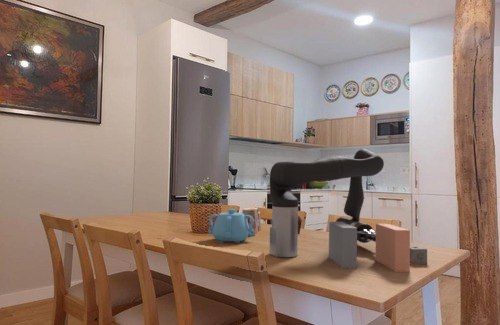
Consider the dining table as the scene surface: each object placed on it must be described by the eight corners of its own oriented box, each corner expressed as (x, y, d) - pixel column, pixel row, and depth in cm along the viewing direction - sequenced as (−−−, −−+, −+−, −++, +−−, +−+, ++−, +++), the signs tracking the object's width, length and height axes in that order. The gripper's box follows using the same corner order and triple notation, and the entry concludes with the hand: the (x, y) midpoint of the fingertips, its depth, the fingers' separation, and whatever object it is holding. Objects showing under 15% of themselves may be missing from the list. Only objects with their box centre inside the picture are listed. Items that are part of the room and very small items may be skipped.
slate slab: (356, 268, 114) (357, 227, 114) (342, 268, 113) (342, 227, 114) (341, 257, 129) (341, 221, 129) (328, 257, 128) (329, 221, 129)
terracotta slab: (409, 271, 111) (409, 230, 111) (395, 271, 110) (395, 230, 111) (388, 260, 126) (388, 223, 126) (375, 260, 125) (375, 223, 126)
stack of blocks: (248, 229, 192) (249, 205, 192) (260, 229, 191) (261, 205, 191) (241, 235, 171) (242, 209, 171) (255, 236, 170) (255, 209, 170)
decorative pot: (238, 236, 168) (238, 206, 168) (257, 242, 154) (257, 209, 155) (205, 239, 159) (206, 208, 160) (222, 245, 145) (223, 211, 146)
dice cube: (417, 260, 126) (418, 246, 126) (427, 264, 121) (427, 249, 121) (404, 261, 125) (404, 246, 125) (413, 264, 120) (413, 249, 120)
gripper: (376, 240, 149) (396, 249, 131) (344, 240, 148) (360, 249, 131) (376, 222, 149) (396, 228, 132) (344, 222, 148) (360, 228, 131)
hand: (378, 239), depth 131 cm, fingers closed
